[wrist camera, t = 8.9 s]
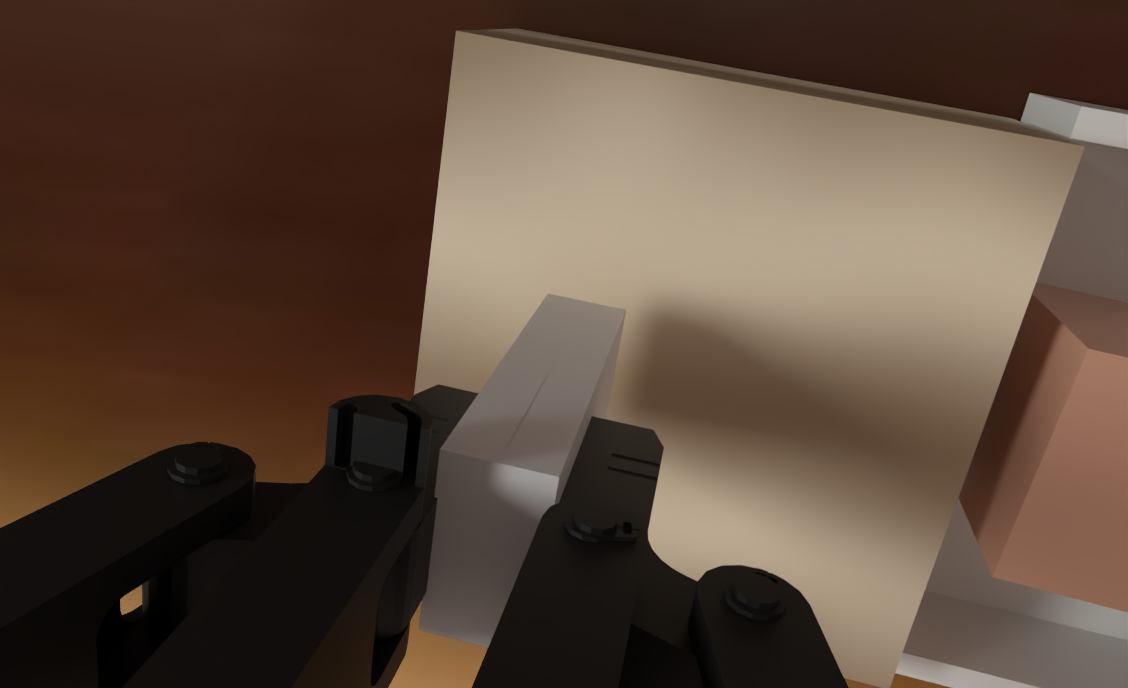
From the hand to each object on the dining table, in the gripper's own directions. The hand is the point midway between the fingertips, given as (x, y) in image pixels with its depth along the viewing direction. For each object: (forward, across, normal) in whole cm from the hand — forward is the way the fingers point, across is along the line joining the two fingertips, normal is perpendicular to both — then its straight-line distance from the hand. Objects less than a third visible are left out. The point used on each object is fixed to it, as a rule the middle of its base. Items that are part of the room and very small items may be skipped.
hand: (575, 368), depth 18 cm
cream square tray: (+7, +2, -1) cm, 7 cm away
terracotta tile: (+4, +9, 0) cm, 10 cm away
